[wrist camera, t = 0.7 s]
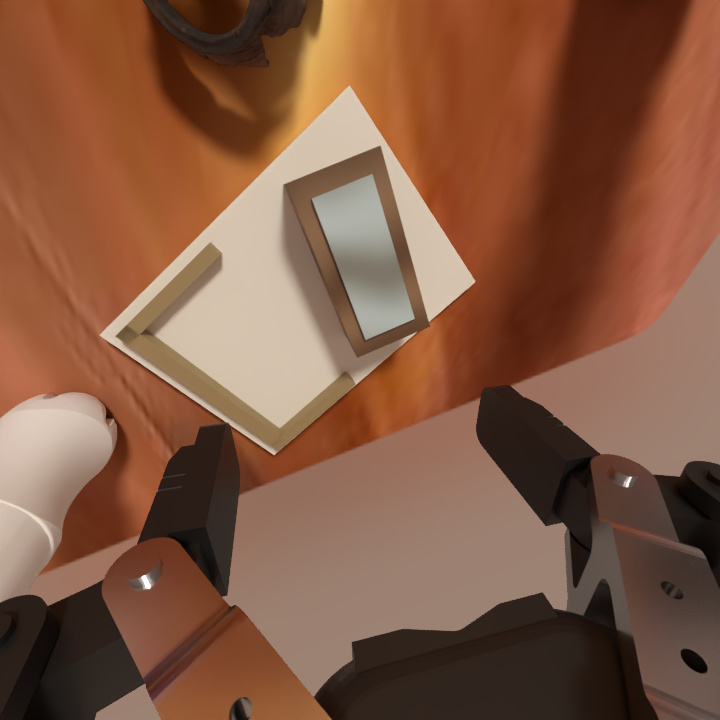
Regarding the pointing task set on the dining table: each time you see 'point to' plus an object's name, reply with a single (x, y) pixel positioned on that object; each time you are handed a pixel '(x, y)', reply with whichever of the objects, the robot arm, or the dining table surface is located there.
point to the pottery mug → (234, 31)
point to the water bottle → (45, 477)
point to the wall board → (276, 295)
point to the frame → (360, 249)
